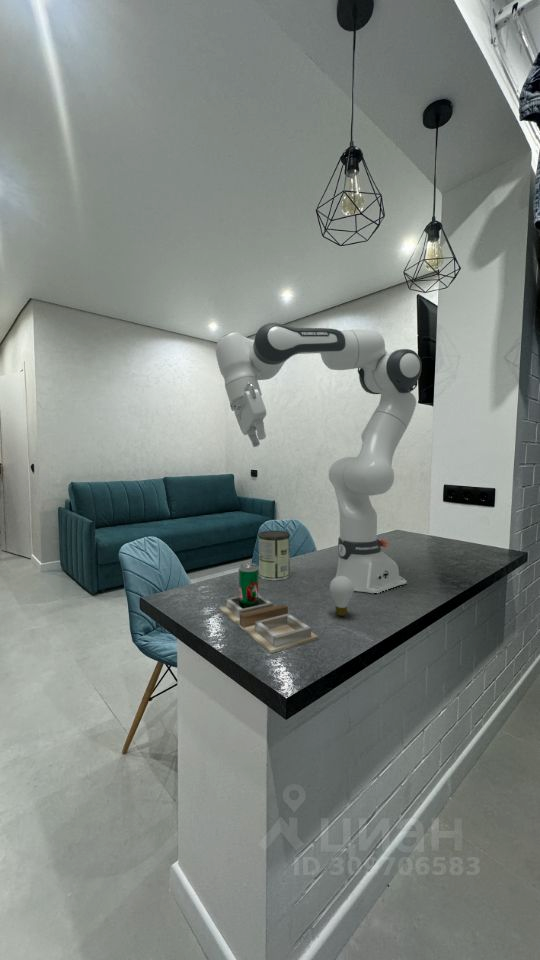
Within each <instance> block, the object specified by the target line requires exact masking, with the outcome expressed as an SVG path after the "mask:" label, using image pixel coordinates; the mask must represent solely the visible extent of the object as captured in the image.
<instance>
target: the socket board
mask: <svg viewBox="0 0 540 960" xmlns="http://www.w3.org/2000/svg"><path fill="white" fill-rule="evenodd" d="M218 608H219V609H218V610H219V611H220V612H222V613H223V614H224V615H225V616H226V617H227V618H229V619H230V620H231V621H232V622H233V623H234V624H235V625H236V626H238V627H239V628H240V629H241V630H243V631H244V633H246V634H247V635H249V636H250V637H251V638H252V639H253V640H254V641H255V642H257V643H258V644H259V645H260V646H261V647H263V648H264V650H266V651H267V652H268V653H270V654H273V653H277V652H279V651H284V650H287V649H290V648H293V647H296V646H300V645H303V644H306V643H309V642H312V641H316V640H319V636H318V635H317V634H315V633H314V632H312V627H310V626H309V625H308V624H306V623H304V622H303V621H301V620H299V619H298V618H297V617H295V616H293V615H291V614H290V613H289V606H288V605H287V604H284V603H282V604H277V605H274V604H273V602H271V601H270V600H268V599H266V598H265V597H263V596H262V595H260V594H259V605H257V606H253V607H249V608H244V609H242V608H241V607H240V606H239V595H238V596H234V597H229V598H225V600H224V605H222V606H219V607H218Z"/></svg>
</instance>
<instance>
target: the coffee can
mask: <svg viewBox="0 0 540 960" xmlns="http://www.w3.org/2000/svg"><path fill="white" fill-rule="evenodd" d="M290 537H291V534H290V532H288V531H284V530H265V531H261V532H259V533H258V569H259V579H260V578H261V579H262V580H265V581H283V580H286V579H288V578H290V577H291V575H290V570H291V569H290V563H291V562H290Z"/></svg>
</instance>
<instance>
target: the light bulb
mask: <svg viewBox="0 0 540 960" xmlns="http://www.w3.org/2000/svg"><path fill="white" fill-rule="evenodd" d="M329 591H330V592H329V593H330V594H331V596H332V599H333V601H334V604H335V613H336V614H337V615H338V616H339V617H345V616H346V615H347V611H348V605H349V601H350V600H351V598H352V597H353V594H354V592H355V591H354V586H353V583H352V582H351V580H350V579H349V578H347V577H345V576H338V577H334V578H333V579H331V581H330V583H329Z"/></svg>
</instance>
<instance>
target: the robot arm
mask: <svg viewBox="0 0 540 960" xmlns="http://www.w3.org/2000/svg"><path fill="white" fill-rule="evenodd" d="M301 354H304V355H305V354H306V355H307V354H308V355H309V354H320V356H321V360H322V362H323V364H324V366H326V367H327V368H328V369H330V370H332V371H347V370H354V369H357V373H358V379H359V382H360V386H361V388H362V389H363V391H365V392H366V393H368V394H371V395H380V398H379V402H378V405H377V407H376V408H375V410H374V412H373V413H372V415H371V417H370V419H368V422H367V424H366V426H365V427H364V429H363V431H362V433H361V440H362V444H361V449H360V451H359V453H358V454H357V455H356V456H355V457H354V456H353V457H352V456H348V457H346V456H345V457H343V458H339V459H338V460H335V461H334V462H333V463H332V464H331V466H330V468H329V470H328V479H329V481H330V483H331V485H332V486H333V488H334V493H335V496H336V501H337V504H338V505H337V506H338V512H339V537H338V539H337V542H338V543H337V551H338V552H337V553H338V560H337V561H338V562H337V568H336V573H335V577H338V576H345V577H347V578H349V579H350V580H351V582H352V583H353V586H354V592H363V593H367V594H374V593H377V594H381V593H383V592H382V591H384V592H386V591H385V590H387V591H389V590H388V589H390V588H393V587H396V586H398V585H401V584H404V583H406V582H407V583H408V581H407V579H405V578H404V577H402V576H401V575H400V571H399V567H398V564H397V563H396V561H395V560H393V559H392V558H391V557H390V556H389V555H387V554H386V553H385V552H383V550H382V548H381V547H383V548H384V549H385V548H387V547H388V546H389V542H388V541H387V540H384V539H380V540H379V539H378V515H377V514H378V513H377V512H376V510H375V508H374V506H373V505H372V503H371V502H372V501H371V500H370V496H371V497H372V496H378V495H382V494H386V493H387V492H389V490H390V489H391V488H392V486H393V484H394V481H395V472H394V469H393V468H392V465H393V464H392V463H393V458H394V454H395V452H396V449H397V447H398V445H399V443H400V441H401V439H402V437H404V434H405V432H406V430H407V429H408V427H409V425H410V423H411V422H412V421H411V420H412V418H413V415H414V412H415V411H416V410H415V409H416V407H417V399H416V396H415V395H414V394H413V391H414V390H415V389H416V388H417V387H418V382H419V379H420V377H421V374H422V360H421V357H420V356H419V354H418V353H417V352H416V351H414V350H412V349H409V348H408V349H407V348H403V349H402V348H401V349H397V350H395V351H392V352H389V353H388V351H387V350H386V343H385V339H384V337H383V336H382V334H381V333H380V332H378V331H375V330H370V329H347V330H346V329H345V330H339V329H336V328H328V327H324V328H323V327H294V326H289V325H285V324H282V323H278V322H269V323H266V324H264V325H262V326H260V327H259V329H258V330H257V331H256V333H255V336H254V339H251V338H248V337H246V336H244V335H242V334H241V333H240V332H238V331H235V332H234V331H233V332H229V333H227V334H225V335H223V336H222V337H221V338H220V339H219V340H218V341H217V344H216V345H215V356H216V360H217V365H218V369H219V372H220V375H221V376H222V378H223V379H224V388H225V392H226V394H227V395H226V396H227V397H228V401H229V405H230V406H229V407H230V410H231V411H233V412H234V415H235V418H236V421H237V424H238V426H239V428H240V431H241V433H242V434H243V436H247V437H248V438H249V440H250V442H251V445H252V447H253V448H256V447H258V446H260V445H261V444H260V441H261V440H264V439H266V437H267V435H266V431H265V423H264V419H265V418H266V416H267V409H266V407H265V406H266V405H265V403H264V401H263V397H262V390H261V387H260V384H259V381H265V380H270V379H272V378H274V377H275V376H276V375H277V374H278V373H279V372H280V371H281V369H282V368H283V366H284V364H285V363H286V362H287V361H288V360H289V359H290V358H292V357H293V356H295V355H301ZM335 577H334V578H335ZM401 579H403V580H401ZM380 592H381V593H380Z"/></svg>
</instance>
